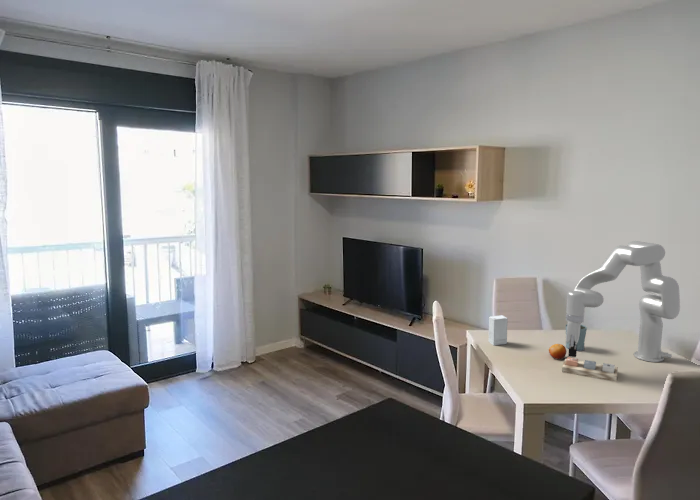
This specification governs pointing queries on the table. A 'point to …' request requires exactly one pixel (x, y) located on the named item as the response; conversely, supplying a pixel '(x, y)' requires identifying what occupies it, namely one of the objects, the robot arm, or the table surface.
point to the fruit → (557, 351)
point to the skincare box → (498, 330)
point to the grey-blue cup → (581, 338)
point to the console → (590, 371)
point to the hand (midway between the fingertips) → (572, 356)
